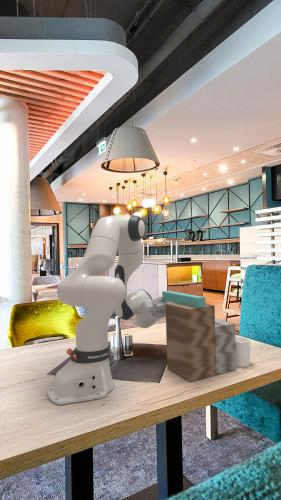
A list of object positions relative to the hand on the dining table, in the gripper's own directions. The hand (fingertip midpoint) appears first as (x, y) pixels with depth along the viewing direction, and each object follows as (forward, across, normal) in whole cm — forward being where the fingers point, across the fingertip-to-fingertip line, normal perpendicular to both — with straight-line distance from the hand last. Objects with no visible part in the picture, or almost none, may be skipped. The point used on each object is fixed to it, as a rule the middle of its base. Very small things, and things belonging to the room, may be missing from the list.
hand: (170, 297), depth 135 cm
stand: (-3, +5, +30) cm, 30 cm away
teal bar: (+6, 0, +5) cm, 8 cm away
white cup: (0, +22, +32) cm, 39 cm away
